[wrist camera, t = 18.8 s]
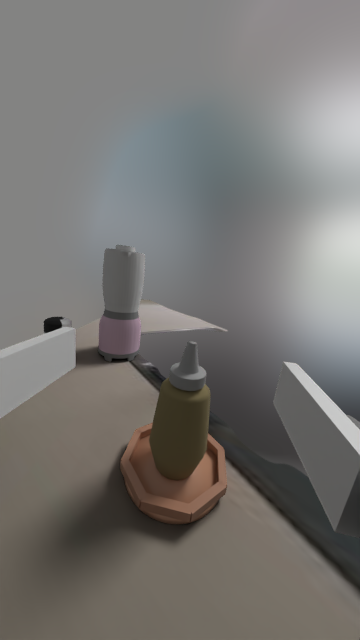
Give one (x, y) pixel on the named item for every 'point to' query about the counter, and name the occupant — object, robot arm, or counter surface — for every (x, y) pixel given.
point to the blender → (121, 303)
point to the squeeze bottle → (181, 418)
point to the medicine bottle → (57, 324)
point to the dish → (172, 482)
